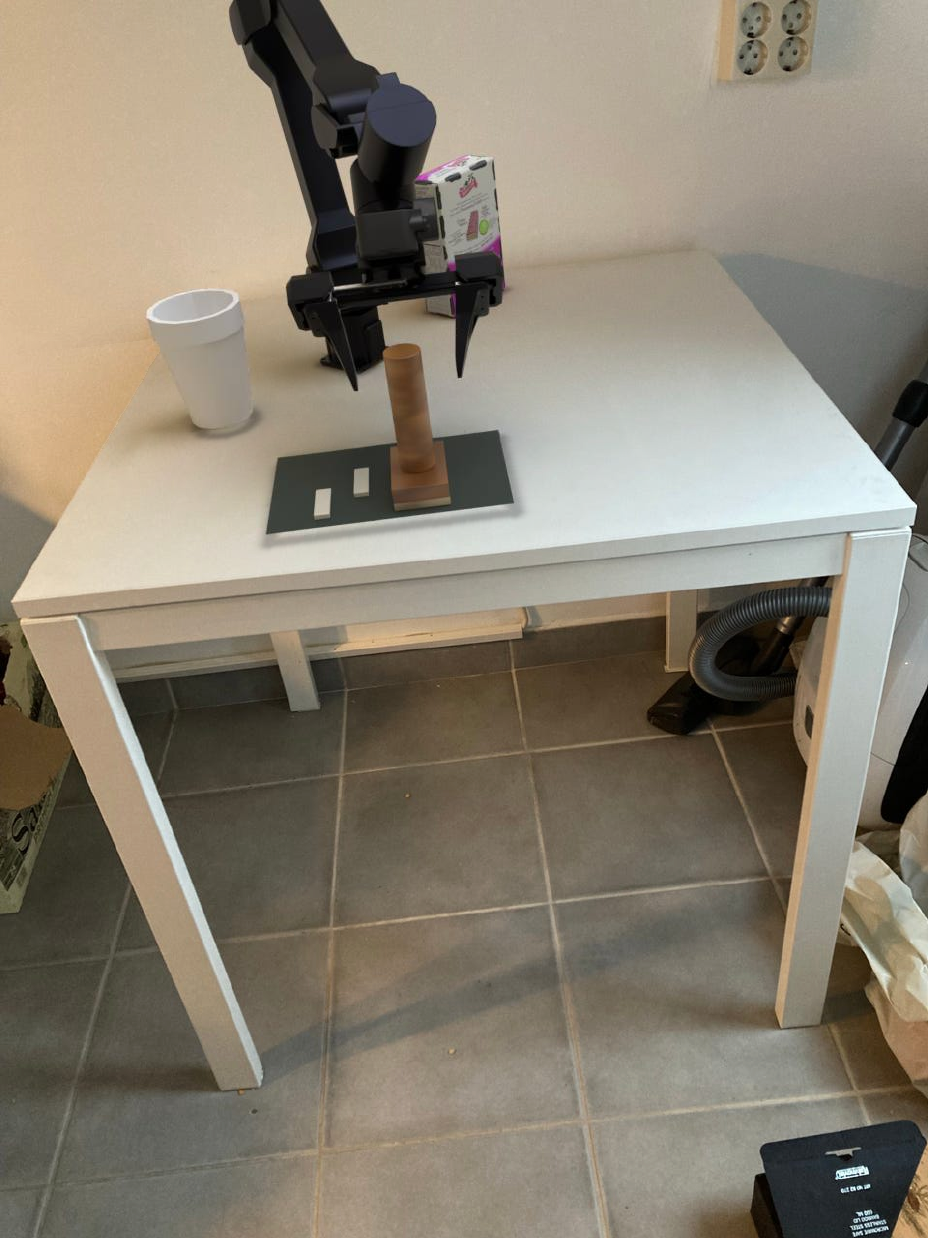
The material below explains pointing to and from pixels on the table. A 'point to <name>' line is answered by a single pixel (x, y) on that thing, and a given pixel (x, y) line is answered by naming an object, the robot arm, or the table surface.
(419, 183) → the candy bar box
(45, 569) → the table surface
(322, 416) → the table surface
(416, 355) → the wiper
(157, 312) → the foam cup
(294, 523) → the board
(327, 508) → the chalk streak
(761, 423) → the table surface
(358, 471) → the chalk streak
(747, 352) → the table surface
